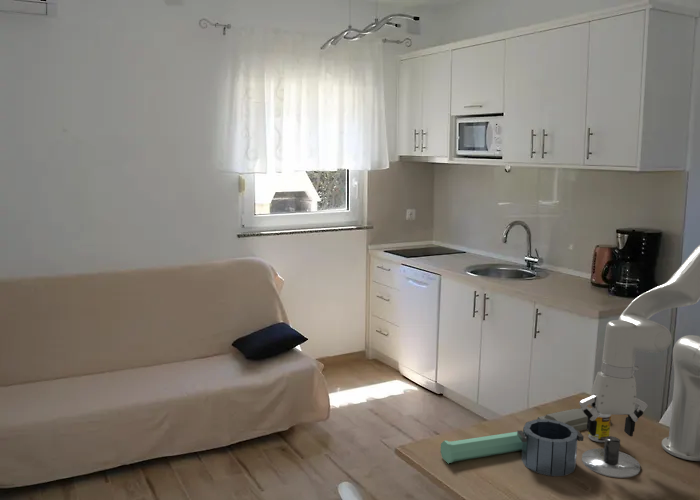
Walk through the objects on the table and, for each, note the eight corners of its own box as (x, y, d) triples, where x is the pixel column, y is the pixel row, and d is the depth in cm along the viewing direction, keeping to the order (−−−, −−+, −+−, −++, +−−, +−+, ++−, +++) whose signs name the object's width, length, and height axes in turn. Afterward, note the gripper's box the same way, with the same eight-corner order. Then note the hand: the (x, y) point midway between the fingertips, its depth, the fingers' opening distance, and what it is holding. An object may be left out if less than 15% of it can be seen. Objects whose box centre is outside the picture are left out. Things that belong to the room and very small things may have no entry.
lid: (624, 451, 175) (626, 426, 174) (650, 478, 161) (653, 452, 160) (573, 452, 174) (574, 427, 173) (595, 479, 160) (597, 453, 159)
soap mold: (612, 425, 191) (613, 414, 191) (559, 437, 183) (559, 426, 183) (586, 412, 200) (587, 401, 200) (534, 423, 192) (535, 411, 192)
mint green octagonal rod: (525, 423, 177) (443, 435, 169) (536, 440, 172) (453, 453, 164) (519, 439, 180) (438, 451, 172) (530, 455, 175) (447, 469, 167)
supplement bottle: (600, 445, 178) (603, 409, 176) (583, 437, 182) (586, 402, 181) (613, 439, 181) (616, 405, 179) (596, 432, 185) (598, 398, 184)
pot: (568, 450, 174) (570, 418, 173) (588, 475, 162) (591, 441, 160) (510, 451, 174) (512, 419, 172) (526, 476, 161) (528, 442, 159)
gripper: (643, 365, 167) (635, 428, 170) (577, 364, 166) (571, 427, 169) (658, 375, 160) (650, 441, 163) (590, 374, 159) (583, 440, 162)
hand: (609, 433), depth 166 cm, fingers open, 9 cm apart
